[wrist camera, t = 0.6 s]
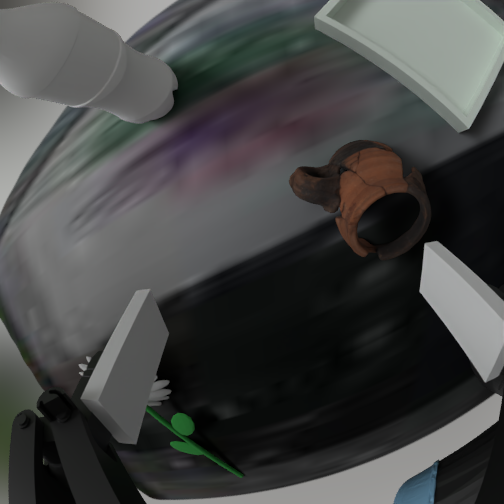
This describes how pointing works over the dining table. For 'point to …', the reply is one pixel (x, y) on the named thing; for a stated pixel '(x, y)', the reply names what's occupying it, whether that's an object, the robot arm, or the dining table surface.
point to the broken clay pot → (363, 192)
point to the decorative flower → (176, 423)
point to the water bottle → (80, 64)
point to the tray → (425, 47)
